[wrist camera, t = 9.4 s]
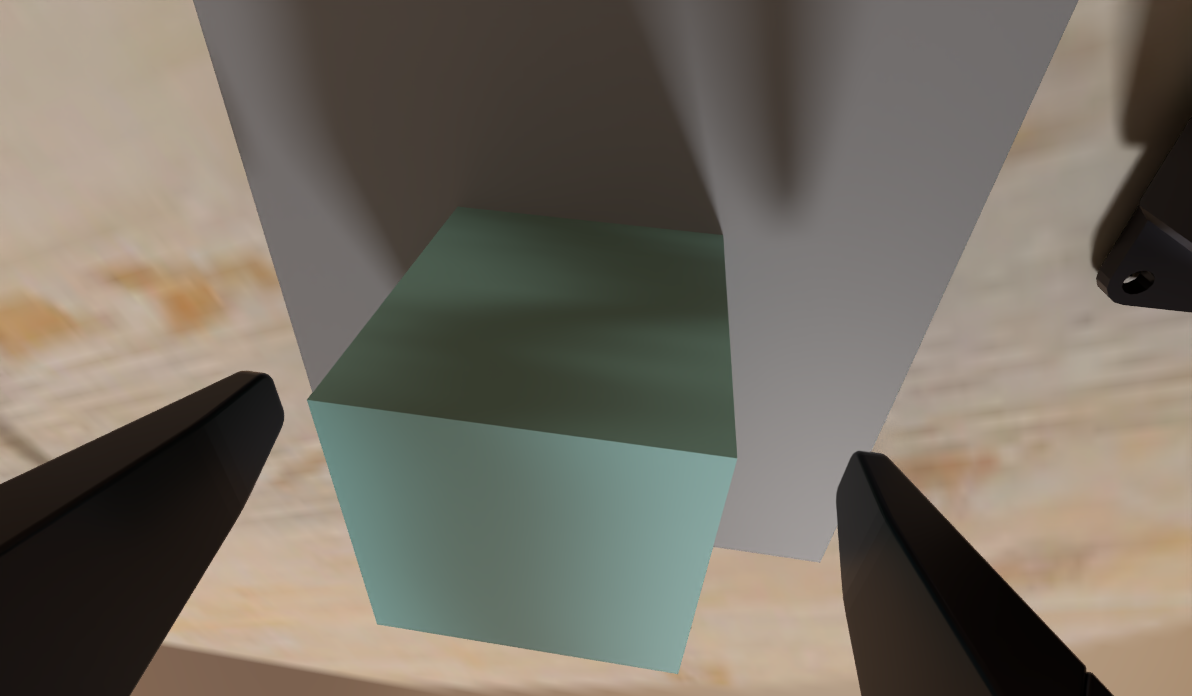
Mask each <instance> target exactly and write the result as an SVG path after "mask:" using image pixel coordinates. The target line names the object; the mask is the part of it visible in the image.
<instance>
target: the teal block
mask: <svg viewBox="0 0 1192 696" xmlns="http://www.w3.org/2000/svg"><path fill="white" fill-rule="evenodd" d="M307 401H308V405H309V408H310V411H311V414H312V417H313V421H314V424H315V427H316V430H317V433H318V437H319V440H320V443H321V446H322V449H323V452H324V456H325V459H326V462H327V465H328V468H329V472H330V475H331V478H332V481H333V484H334V488H335V491H336V494H337V497H338V500H339V504H340V507H341V510H342V513H343V516H344V520H345V523H346V526H347V529H348V532H349V536H350V539H351V542H352V545H353V548H354V551H355V555H356V558H357V561H358V564H359V567H360V571H361V574H362V577H363V580H364V583H365V587H366V590H367V593H368V596H369V599H370V603H371V606H372V609H373V612H374V615H375V619H376V622H377V624H379V625H385V626H391V627H397V628H403V629H409V630H415V631H421V632H427V633H433V634H439V635H445V636H451V637H457V638H463V639H469V640H475V641H481V642H487V643H494V644H500V645H506V646H512V647H518V648H524V649H530V650H536V651H542V652H548V653H554V654H560V655H566V656H572V657H578V658H584V659H590V660H596V661H602V662H609V663H615V664H621V665H627V666H633V667H639V668H645V669H651V670H657V671H663V672H669V673H675V674H678V672H679V669H680V665H681V661H682V658H683V654H684V651H685V647H686V643H687V640H688V636H689V632H690V629H691V625H692V621H693V618H694V614H695V611H696V607H697V603H698V600H699V596H700V592H701V589H702V585H703V582H704V578H705V574H706V571H707V567H708V563H709V560H710V556H711V552H712V549H713V545H714V542H715V538H716V534H717V531H718V527H719V523H720V520H721V516H722V513H723V509H724V505H725V502H726V498H727V494H728V491H729V487H730V483H731V480H732V476H733V473H734V469H735V465H736V462H737V444H736V429H735V413H734V397H733V381H732V365H731V349H730V334H729V318H728V302H727V286H726V270H725V255H724V239H723V235H717V234H708V233H699V232H689V231H680V230H671V229H661V228H652V227H643V226H634V225H624V224H615V223H606V222H596V221H587V220H578V219H568V218H559V217H550V216H540V215H531V214H522V213H513V212H503V211H494V210H485V209H475V208H466V207H457V208H456V209H455V211H454V212H453V213H452V214H451V216H450V217H449V218H448V220H447V221H446V222H445V223H444V225H443V226H442V227H441V228H440V230H439V231H438V232H437V234H436V235H435V236H434V237H433V239H432V240H431V241H430V243H429V244H428V245H427V246H426V248H425V249H424V250H423V252H422V253H421V254H420V255H419V257H418V258H417V259H416V261H415V262H414V263H413V264H412V266H411V267H410V268H409V270H408V271H407V272H406V273H405V275H404V276H403V277H402V279H401V280H400V281H399V282H398V284H397V285H396V286H395V288H394V289H393V290H392V291H391V293H390V294H389V295H388V297H387V298H386V299H385V300H384V302H383V303H382V304H381V306H380V307H379V308H378V309H377V311H376V312H375V313H374V315H373V316H372V317H371V318H370V320H369V321H368V322H367V323H366V325H365V326H364V327H363V329H362V330H361V331H360V332H359V334H358V335H357V336H356V338H355V339H354V340H353V341H352V343H351V344H350V345H349V347H348V348H347V349H346V350H345V352H344V353H343V354H342V356H341V357H340V358H339V359H338V361H337V362H336V363H335V365H334V366H333V367H332V368H331V370H330V371H329V372H328V374H327V375H326V376H325V377H324V379H323V380H322V381H321V383H320V384H319V385H318V386H317V388H316V389H315V390H314V392H313V393H312V394H311V395H310V397H309V398H308V399H307Z"/></svg>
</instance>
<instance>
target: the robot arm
mask: <svg viewBox="0 0 1192 696" xmlns="http://www.w3.org/2000/svg"><path fill="white" fill-rule="evenodd" d="M1138 271H1142V272H1141V274H1140V275H1139V276H1138V277H1137V278H1136V279H1135V280H1132V281H1130V282H1128V283H1123V282H1124V280H1125V279H1126V278H1127V277H1128V276H1129V275H1131V274H1134V273H1136V272H1138ZM1096 280H1097V286H1098V287H1099V288H1100V289H1101V290H1102V291H1103V292H1104V293H1105V294H1106V295H1107V296H1108V297H1109V298H1110V299H1111V300H1112V301H1113V302H1115V303H1119V304H1122V305H1129V306H1138V307H1147V308H1156V309H1165V310H1174V311H1184V312H1192V117H1191V119H1190V120H1189V122H1188V124H1187V125H1186V127H1185V129H1184V130H1183V132H1182V133H1181V135H1180V137H1179V138H1178V140H1177V141H1176V143H1175V145H1174V146H1173V148H1172V150H1171V151H1170V153H1169V154H1168V156H1167V158H1166V159H1165V161H1164V162H1163V164H1162V166H1161V167H1160V169H1159V171H1158V172H1157V174H1156V175H1155V177H1154V179H1153V180H1152V182H1151V183H1150V185H1149V187H1148V188H1147V190H1146V191H1145V193H1144V195H1143V196H1142V198H1141V200H1140V205H1139V206H1138V208H1137V210H1136V211H1135V213H1134V214H1133V216H1132V218H1131V219H1130V221H1129V222H1128V224H1127V226H1126V227H1125V229H1124V230H1123V232H1122V234H1121V235H1120V237H1119V239H1118V240H1117V242H1116V243H1115V245H1114V247H1113V248H1112V250H1111V251H1110V253H1109V255H1108V256H1107V258H1106V259H1105V261H1104V263H1103V264H1102V266H1101V267H1100V269H1099V272H1098V274H1097V277H1096ZM283 422H284V410H283V407H282V404H281V401H280V399H279V396H278V393H277V390H276V387H275V384H274V382H273V379H272V378H271V377H270V376H269V375H268V374H266V373H260V372H252V371H240V372H237V373H235V374H233V375H231V376H229V377H227V378H224V379H222V380H220V381H218V382H216V383H214V384H212V385H210V386H207V387H205V388H203V389H201V390H199V391H197V392H195V393H193V394H191V395H188V396H186V397H184V398H182V399H180V400H178V401H176V402H174V403H171V404H169V405H167V406H165V407H163V408H161V409H159V410H157V411H154V412H152V413H150V414H148V415H146V416H144V417H142V418H140V419H138V420H135V421H133V422H131V423H129V424H127V425H125V426H123V427H121V428H118V429H116V430H114V431H112V432H110V433H108V434H106V435H104V436H102V437H99V438H97V439H95V440H93V441H91V442H89V443H87V444H85V445H82V446H80V447H78V448H76V449H74V450H72V451H70V452H68V453H65V454H63V455H61V456H59V457H57V458H55V459H53V460H51V461H49V462H46V463H44V464H42V465H40V466H38V467H36V468H34V469H32V470H29V471H27V472H25V473H23V474H21V475H19V476H17V477H15V478H12V479H10V480H8V481H6V482H4V483H2V484H0V696H130V695H131V693H132V692H133V690H134V688H135V687H136V685H137V683H138V682H139V680H140V678H141V677H142V675H143V674H144V672H145V670H146V669H147V667H148V665H149V664H150V662H151V660H152V659H153V657H154V655H155V654H156V652H157V650H158V649H159V647H160V646H161V644H162V642H163V641H164V639H165V637H166V636H167V634H168V632H169V631H170V629H171V627H172V626H173V624H174V622H175V621H176V619H177V618H178V616H179V614H180V613H181V611H182V609H183V608H184V606H185V604H186V603H187V601H188V599H189V598H190V596H191V594H192V593H193V591H194V589H195V588H196V586H197V585H198V583H199V581H200V580H201V578H202V576H203V575H204V573H205V571H206V570H207V568H208V566H209V565H210V563H211V561H212V560H213V558H214V557H215V555H216V553H217V552H218V550H219V548H220V547H221V545H222V543H223V542H224V540H225V538H226V537H227V535H228V533H229V532H230V530H231V529H232V527H233V525H234V524H235V522H236V520H237V518H238V517H239V515H240V513H241V511H242V510H243V508H244V506H245V504H246V502H247V500H248V498H249V496H250V494H251V492H252V490H253V488H254V485H255V483H256V481H257V479H258V477H259V475H260V473H261V471H262V469H263V466H264V464H265V462H266V460H267V458H268V456H269V454H270V452H271V449H272V447H273V445H274V443H275V441H276V439H277V437H278V435H279V432H280V430H281V428H282V425H283ZM836 511H837V524H838V538H839V552H840V566H841V580H842V591H843V600H844V606H845V612H846V618H847V623H848V628H849V634H850V639H851V644H852V649H853V654H854V660H855V665H856V670H857V675H858V680H859V685H860V691H861V696H1114V695H1113V694H1112V693H1111V692H1110V691H1109V690H1108V689H1107V688H1106V687H1105V686H1104V685H1103V684H1102V683H1101V682H1100V681H1099V679H1098V678H1097V677H1096V676H1095V675H1094V674H1093V673H1091V672H1086V666H1085V665H1084V664H1083V663H1082V662H1081V661H1080V660H1079V659H1078V657H1077V656H1076V655H1075V654H1074V653H1073V652H1072V651H1071V650H1070V649H1069V648H1068V647H1067V646H1066V645H1065V644H1064V643H1063V642H1062V641H1061V639H1060V638H1059V637H1058V636H1057V635H1056V634H1055V633H1054V632H1053V631H1052V630H1051V629H1050V628H1049V627H1048V626H1047V625H1046V624H1045V623H1044V622H1043V620H1042V619H1041V618H1040V617H1039V616H1038V615H1037V614H1036V613H1035V612H1034V611H1033V610H1032V609H1031V608H1030V607H1029V606H1028V605H1027V604H1026V602H1025V601H1024V600H1023V599H1022V598H1021V597H1020V596H1019V595H1018V594H1017V593H1016V592H1015V591H1014V590H1013V589H1012V588H1011V587H1010V586H1009V585H1008V583H1007V582H1006V581H1005V580H1004V579H1003V578H1002V577H1001V576H1000V575H999V574H998V573H997V572H996V571H995V570H994V569H993V568H992V567H991V566H990V564H989V563H988V562H987V561H986V560H985V559H984V558H983V557H982V556H981V555H980V554H979V553H978V552H977V551H976V550H975V549H974V548H973V546H972V545H971V544H970V543H969V542H968V541H967V540H966V539H965V538H964V537H963V536H962V535H961V534H960V533H959V532H958V531H957V530H956V529H955V527H954V526H953V525H952V524H951V523H950V522H949V521H948V520H947V519H946V518H945V517H944V516H943V515H942V514H941V513H940V512H939V511H938V510H937V508H936V507H935V506H934V505H933V504H932V503H931V502H930V501H929V500H928V499H927V498H926V497H925V496H924V495H923V494H922V493H921V492H920V490H919V489H918V488H917V487H916V486H915V485H914V484H913V483H912V482H911V481H910V480H909V479H908V478H907V477H906V476H905V475H904V474H903V473H902V471H901V470H900V469H899V468H898V467H897V466H896V465H895V464H894V463H893V462H892V461H891V460H890V459H889V458H888V457H887V456H885V455H884V454H881V453H874V452H866V451H856V452H854V453H853V454H852V456H851V458H850V460H849V462H848V465H847V467H846V469H845V472H844V474H843V476H842V478H841V481H840V483H839V485H838V488H837V493H836Z"/></svg>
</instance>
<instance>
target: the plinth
mask: <svg viewBox="0 0 1192 696" xmlns="http://www.w3.org/2000/svg"><path fill="white" fill-rule="evenodd" d="M193 2H194V5H195V8H196V12H197V15H198V18H199V21H200V25H201V28H202V31H203V35H204V38H205V41H206V44H207V48H208V51H209V54H210V57H211V61H212V64H213V67H214V71H215V74H216V77H217V80H218V84H219V87H220V90H221V94H222V97H223V100H224V103H225V107H226V110H227V113H228V117H229V120H230V123H231V126H232V130H233V133H234V136H235V140H236V143H237V146H238V149H239V153H240V156H241V159H242V162H243V166H244V169H245V172H246V176H247V179H248V182H249V185H250V189H251V192H252V195H253V199H254V202H255V205H256V208H257V212H258V215H259V218H260V222H261V225H262V228H263V231H264V235H265V238H266V241H267V244H268V248H269V251H270V254H271V258H272V261H273V264H274V267H275V271H276V274H277V277H278V281H279V284H280V287H281V290H282V294H283V297H284V300H285V304H286V307H287V310H288V313H289V317H290V320H291V323H292V327H293V330H294V333H295V336H296V340H297V343H298V346H299V349H300V353H301V356H302V359H303V363H304V366H305V369H306V372H307V376H308V379H309V382H310V386H311V389H312V392H314V390H315V389H316V388H317V386H318V385H319V384H320V383H321V381H322V380H323V379H324V377H325V376H326V375H327V374H328V372H329V371H330V370H331V368H332V367H333V366H334V365H335V363H336V362H337V361H338V359H339V358H340V357H341V356H342V354H343V353H344V352H345V350H346V349H347V348H348V347H349V345H350V344H351V343H352V341H353V340H354V339H355V338H356V336H357V335H358V334H359V332H360V331H361V330H362V329H363V327H364V326H365V325H366V323H367V322H368V321H369V320H370V318H371V317H372V316H373V315H374V313H375V312H376V311H377V309H378V308H379V307H380V306H381V304H382V303H383V302H384V300H385V299H386V298H387V297H388V295H389V294H390V293H391V291H392V290H393V289H394V288H395V286H396V285H397V284H398V282H399V281H400V280H401V279H402V277H403V276H404V275H405V273H406V272H407V271H408V270H409V268H410V267H411V266H412V264H413V263H414V262H415V261H416V259H417V258H418V257H419V255H420V254H421V253H422V252H423V250H424V249H425V248H426V246H427V245H428V244H429V243H430V241H431V240H432V239H433V237H434V236H435V235H436V234H437V232H438V231H439V230H440V228H441V227H442V226H443V225H444V223H445V222H446V221H447V220H448V218H449V217H450V216H451V214H452V213H453V212H454V211H455V209H456V208H457V207H466V208H475V209H485V210H494V211H503V212H513V213H522V214H531V215H540V216H550V217H559V218H568V219H578V220H587V221H596V222H606V223H615V224H624V225H634V226H643V227H652V228H661V229H671V230H680V231H689V232H699V233H708V234H717V235H723V239H724V255H725V270H726V286H727V302H728V318H729V334H730V349H731V365H732V381H733V397H734V413H735V429H736V444H737V462H736V465H735V469H734V473H733V476H732V480H731V483H730V487H729V491H728V494H727V498H726V502H725V505H724V509H723V513H722V516H721V520H720V523H719V527H718V531H717V534H716V538H715V542H714V545H713V547H718V548H725V549H732V550H739V551H745V552H752V553H759V554H766V555H773V556H779V557H786V558H793V559H800V560H807V561H813V562H821V560H822V557H823V555H824V553H825V551H826V549H827V547H828V544H829V542H830V540H831V538H832V536H833V533H834V531H835V529H836V527H837V525H838V524H837V511H836V493H837V488H838V485H839V483H840V481H841V478H842V476H843V474H844V472H845V469H846V467H847V465H848V462H849V460H850V458H851V456H852V454H853V453H854V452H856V451H866V452H871V451H872V449H873V446H874V444H875V442H876V440H877V438H878V436H879V433H880V431H881V429H882V427H883V425H884V422H885V420H886V418H887V416H888V414H889V412H890V409H891V407H892V405H893V403H894V401H895V398H896V396H897V394H898V392H899V390H900V388H901V385H902V383H903V381H904V379H905V377H906V375H907V372H908V370H909V368H910V366H911V364H912V361H913V359H914V357H915V355H916V353H917V351H918V348H919V346H920V344H921V342H922V340H923V338H924V335H925V333H926V331H927V329H928V327H929V324H930V322H931V320H932V318H933V316H934V314H935V311H936V309H937V307H938V305H939V303H940V301H941V298H942V296H943V294H944V292H945V290H946V287H947V285H948V283H949V281H950V279H951V277H952V274H953V272H954V270H955V268H956V266H957V264H958V261H959V259H960V257H961V255H962V253H963V250H964V248H965V246H966V244H967V242H968V240H969V237H970V235H971V233H972V231H973V229H974V226H975V224H976V222H977V220H978V218H979V216H980V213H981V211H982V209H983V207H984V205H985V203H986V200H987V198H988V196H989V194H990V192H991V189H992V187H993V185H994V183H995V181H996V179H997V176H998V174H999V172H1000V170H1001V168H1002V166H1003V163H1004V161H1005V159H1006V157H1007V155H1008V152H1009V150H1010V148H1011V146H1012V144H1013V142H1014V139H1015V137H1016V135H1017V133H1018V131H1019V129H1020V126H1021V124H1022V122H1023V120H1024V118H1025V115H1026V113H1027V111H1028V109H1029V107H1030V105H1031V102H1032V100H1033V98H1034V96H1035V94H1036V92H1037V89H1038V87H1039V85H1040V83H1041V81H1042V78H1043V76H1044V74H1045V72H1046V70H1047V68H1048V65H1049V63H1050V61H1051V59H1052V57H1053V54H1054V52H1055V50H1056V48H1057V46H1058V44H1059V41H1060V39H1061V37H1062V35H1063V33H1064V31H1065V28H1066V26H1067V24H1068V22H1069V20H1070V17H1071V15H1072V13H1073V11H1074V9H1075V7H1076V4H1077V2H1078V0H193Z"/></svg>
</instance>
